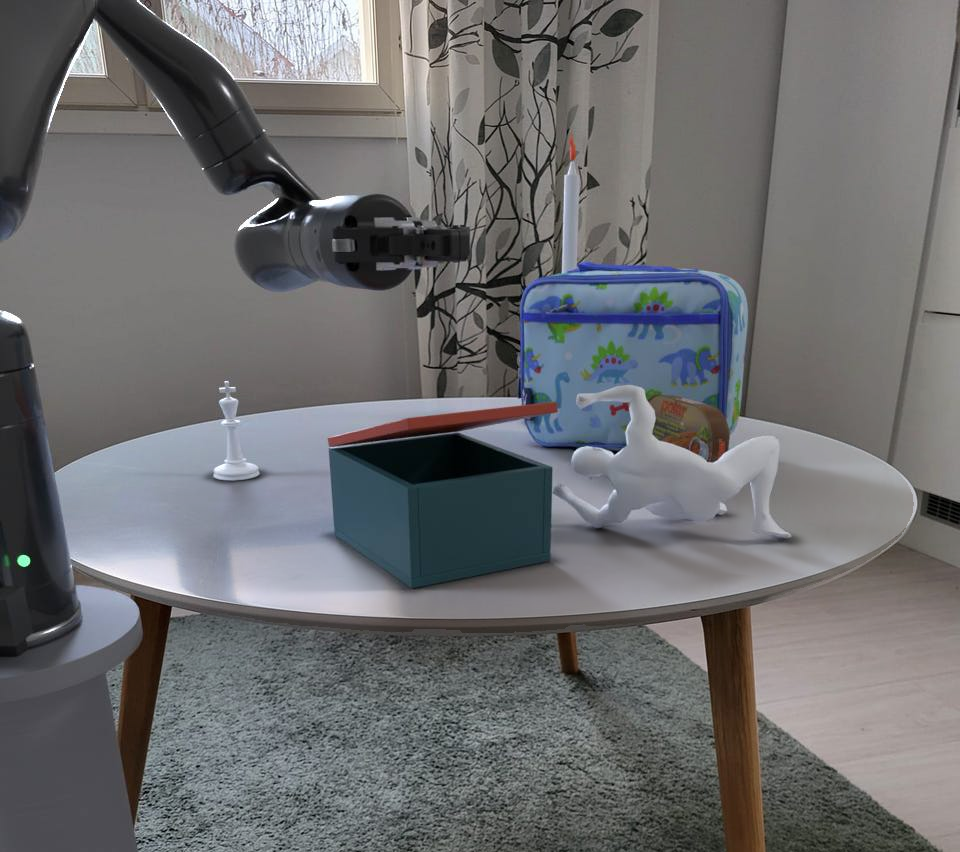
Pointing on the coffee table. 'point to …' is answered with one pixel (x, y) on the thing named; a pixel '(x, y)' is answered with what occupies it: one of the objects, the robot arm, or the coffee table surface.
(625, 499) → the person figurine
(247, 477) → the chess piece
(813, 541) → the coffee table surface
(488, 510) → the teal box
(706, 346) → the lunch box
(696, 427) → the tin
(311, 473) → the coffee table surface
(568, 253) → the candlestick
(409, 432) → the red box lid
